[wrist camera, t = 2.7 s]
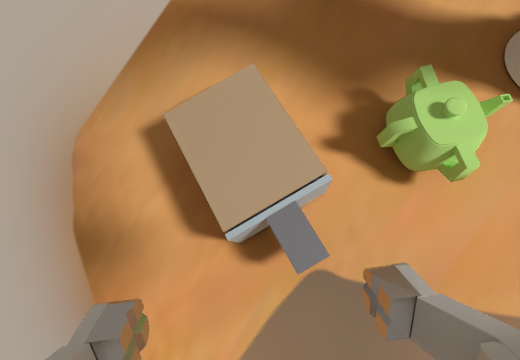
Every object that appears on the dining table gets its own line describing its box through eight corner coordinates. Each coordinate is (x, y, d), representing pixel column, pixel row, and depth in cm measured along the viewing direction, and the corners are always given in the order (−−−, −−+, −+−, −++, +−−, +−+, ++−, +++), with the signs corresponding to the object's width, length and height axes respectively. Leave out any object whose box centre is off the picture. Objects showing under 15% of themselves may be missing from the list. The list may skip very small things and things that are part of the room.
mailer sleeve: (320, 187, 39) (327, 171, 31) (237, 236, 39) (223, 232, 31) (260, 96, 44) (253, 63, 36) (185, 138, 44) (162, 114, 36)
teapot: (440, 193, 37) (491, 173, 27) (362, 156, 39) (384, 126, 30) (473, 124, 39) (531, 83, 29) (396, 93, 41) (427, 46, 32)
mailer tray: (354, 236, 36) (369, 232, 29) (264, 289, 36) (257, 298, 29) (262, 98, 43) (256, 68, 36) (187, 142, 43) (165, 119, 36)
